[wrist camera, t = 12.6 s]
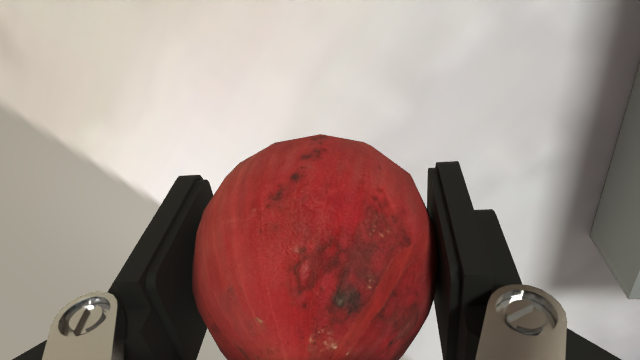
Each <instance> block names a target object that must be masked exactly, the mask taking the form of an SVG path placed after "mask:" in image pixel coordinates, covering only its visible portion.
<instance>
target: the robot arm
mask: <svg viewBox="0 0 640 360" xmlns="http://www.w3.org/2000/svg"><path fill="white" fill-rule="evenodd" d="M212 197H213V193H212V190H211V187H210V184H209V181H208V180H203V178H202V177H201V176H200V175H188V176H179V177H178V178H177V179H176V181H175V183H174V184H173V186H172V188H171V189H170V191H169V193H168V194H167V196H166V198H165V199H164V201H163V202H162V204H161V206H160V207H159V209H158V211H157V212H156V214H155V216H154V217H153V219H152V221H151V222H150V224H149V225H148V227H147V228H146V230H145V232H144V233H143V235H142V236H141V238H140V240H139V241H138V243H137V245H136V246H135V248H134V250H133V251H132V253H131V255H130V256H129V258H128V260H127V261H126V263H125V265H124V266H123V268H122V269H121V271H120V273H119V274H118V276H117V277H116V279H115V281H114V282H113V284H112V286H111V287H110V289H109V291H108V292H102V291H97V292H92V293H88V294H85V295H82V296H80V297H78V298H76V299H75V300H73V301H71V302H69V303H68V304H67V305H66V306H65V307H63V308H62V309H61V310H60V311H59V313H58V314H57V315H56V316H55V318H54V320H53V323H52V324H51V328H50V331H49V335H48V339H47V340H46V341H44V342H42V343H40V344H39V345H37V346H35V347H34V348H32V349H30V350H28V351H27V352H25V353H23V354H21V355H20V356H18V357H16V358H14V359H13V360H196V359H197V356H198V353H199V350H200V347H201V344H202V341H203V338H204V336H205V333H206V330H207V326H206V324H205V322H204V321H203V319H202V317H201V315H200V313H199V311H198V309H197V305H196V302H195V298H194V295H193V292H192V263H193V256H194V249H195V241H196V234H197V230H198V227H199V224H200V221H201V217H202V214H203V211H204V209H205V208H206V206H207V205H208V203H209V202H210V200H211V199H212ZM427 210H428V213H429V215H430V217H431V220H432V222H433V225H434V227H435V232H436V240H437V254H438V260H437V277H436V293H435V297H434V304H435V310H436V316H437V323H438V329H439V335H440V342H441V348H442V354H443V360H621V359H619V358H618V357H616V356H614V355H612V354H611V353H609V352H607V351H606V350H604V349H602V348H600V347H599V346H597V345H595V344H593V343H592V342H590V341H588V340H587V339H585V338H583V337H581V336H580V335H578V334H576V333H575V332H573V331H571V330H569V329H568V328H567V319H566V313H565V311H564V309H563V308H562V306H561V304H560V303H559V302H558V301H557V300H556V299H555V298H554V297H553V296H551V295H550V294H548V293H546V292H545V291H543V290H541V289H538V288H535V287H532V286H529V285H522V282H521V280H520V277H519V274H518V272H517V269H516V266H515V264H514V261H513V258H512V256H511V253H510V250H509V248H508V245H507V242H506V240H505V237H504V235H503V232H502V229H501V227H500V224H499V221H498V219H497V216H496V214H495V212H494V210H492V209H489V210H474V209H473V206H472V202H471V199H470V196H469V193H468V190H467V187H466V184H465V180H464V177H463V174H462V171H461V168H460V165H459V162H458V161H454V162H436V167H435V168H428V189H427Z"/></svg>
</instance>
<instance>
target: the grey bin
mask: <svg viewBox="0 0 640 360" xmlns="http://www.w3.org/2000/svg"><path fill="white" fill-rule="evenodd" d="M590 237H591V239H592V240H593V242H594V244H595V245H596V247H597V249H598V250H599V252H600V253H601V255H602V257H603V258H604V260H605V262H606V263H607V265H608V267H609V268H610V270H611V272H612V273H613V275H614V277H615V278H616V280H617V281H618V283H619V285H620V286H621V288H622V290H623V291H624V293H625V295H626V296H627V298H628V299H640V64H639V68H638V71H637V74H636V78H635V81H634V85H633V88H632V92H631V95H630V99H629V102H628V105H627V109H626V112H625V116H624V119H623V123H622V126H621V130H620V133H619V136H618V140H617V143H616V147H615V150H614V154H613V157H612V161H611V164H610V168H609V171H608V174H607V178H606V181H605V185H604V188H603V192H602V195H601V199H600V202H599V205H598V209H597V212H596V216H595V219H594V223H593V226H592V230H591V233H590Z"/></svg>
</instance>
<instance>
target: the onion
mask: <svg viewBox="0 0 640 360" xmlns="http://www.w3.org/2000/svg"><path fill="white" fill-rule="evenodd" d="M437 260H438V254H437V240H436V232H435V227H434V225H433V222H432V220H431V217H430V215H429V213H428V210H427V208H426V206H425V204H424V202H423V200H422V198H421V196H420V194H419V191H418V189H417V187H416V185H415V183H414V181H413V179H412V177H411V175H410V174H409V173H408V172H407V171H405V170H404V169H402V168H401V167H400V166H398V165H397V164H395V163H394V162H393V161H391V160H390V159H389V158H387V157H386V156H384V155H383V154H382V153H380V152H379V151H378V150H376V149H375V148H373V147H372V146H370V145H368V144H366V143H364V142H360V141H354V140H349V139H343V138H338V137H332V136H327V135H322V134H320V135H315V136H309V137H304V138H298V139H293V140H288V141H282V142H277V143H274V144H272V145H270V146H269V147H267V148H265V149H263V150H262V151H260V152H258V153H256V154H255V155H253V156H251V157H249V158H248V159H246V160H244V161H242V162H241V163H239V164H238V165H237V166H236V167H235V168H234V169H233V170H232V171H231V172H230V173H229V174H228V175H227V176H226V177H225V179H224V180H223V182H222V183H221V185H220V187H219V188H218V190H217V191H216V193H215V194H214V196H213V197H212V199H211V200H210V202H209V203H208V205H207V206H206V208H205V209H204V211H203V214H202V217H201V221H200V224H199V227H198V230H197V234H196V241H195V249H194V256H193V263H192V292H193V295H194V298H195V302H196V305H197V309H198V311H199V313H200V315H201V317H202V319H203V321H204V322H205V324H206V326H207V328H208V329H209V332H210V333H211V335H212V337H213V338H214V340H215V342H216V344H217V345H218V347H219V349H220V351H221V352H222V353H223V355H224V356H225V357H226V358H227V360H399V359H400V358H401V357H402V356H403V354H404V353H405V352H406V350H407V349H408V347H409V346H410V344H411V343H412V341H413V340H414V338H415V337H416V335H417V334H418V332H419V331H420V329H421V327H422V325H423V324H424V322H425V320H426V318H427V317H428V315H429V312H430V309H431V306H432V303H433V300H434V297H435V293H436V277H437Z"/></svg>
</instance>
